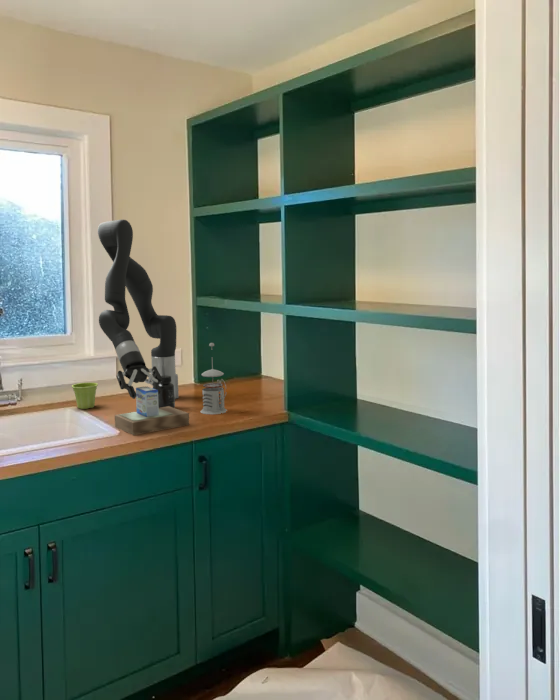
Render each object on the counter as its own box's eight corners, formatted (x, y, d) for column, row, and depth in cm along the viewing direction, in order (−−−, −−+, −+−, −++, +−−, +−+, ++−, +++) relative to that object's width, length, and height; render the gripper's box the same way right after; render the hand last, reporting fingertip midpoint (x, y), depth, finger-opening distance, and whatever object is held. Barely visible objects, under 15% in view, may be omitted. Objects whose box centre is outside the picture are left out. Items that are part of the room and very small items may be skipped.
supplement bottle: (173, 405, 248) (172, 374, 247) (176, 409, 242) (175, 377, 240) (155, 407, 246) (153, 375, 245) (157, 411, 240) (156, 378, 238)
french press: (216, 407, 245) (214, 340, 241) (236, 411, 236) (234, 342, 233) (194, 411, 238) (192, 343, 235) (214, 416, 230) (211, 345, 226)
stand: (169, 417, 229) (168, 405, 229) (189, 424, 218) (188, 412, 218) (115, 426, 217) (114, 414, 217) (133, 435, 206) (132, 421, 206)
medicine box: (136, 413, 218) (135, 387, 216) (148, 411, 220) (147, 385, 219) (146, 417, 211) (145, 391, 210) (159, 415, 214) (158, 389, 213)
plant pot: (95, 409, 244) (94, 386, 242) (69, 410, 243) (68, 387, 242) (101, 404, 253) (100, 382, 252) (77, 405, 253) (75, 382, 252)
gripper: (113, 352, 215) (129, 391, 208) (152, 348, 224) (169, 385, 217) (107, 366, 220) (123, 405, 213) (146, 361, 229) (163, 399, 221)
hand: (146, 395), depth 215 cm, fingers open, 8 cm apart
